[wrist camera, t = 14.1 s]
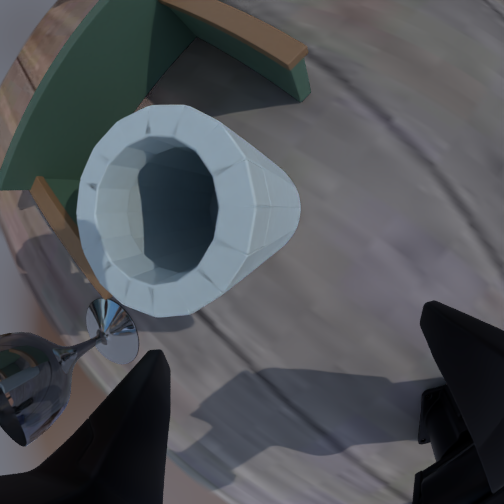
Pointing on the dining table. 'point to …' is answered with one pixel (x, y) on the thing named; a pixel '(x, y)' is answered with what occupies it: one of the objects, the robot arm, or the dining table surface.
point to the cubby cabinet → (125, 91)
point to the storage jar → (180, 210)
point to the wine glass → (55, 369)
